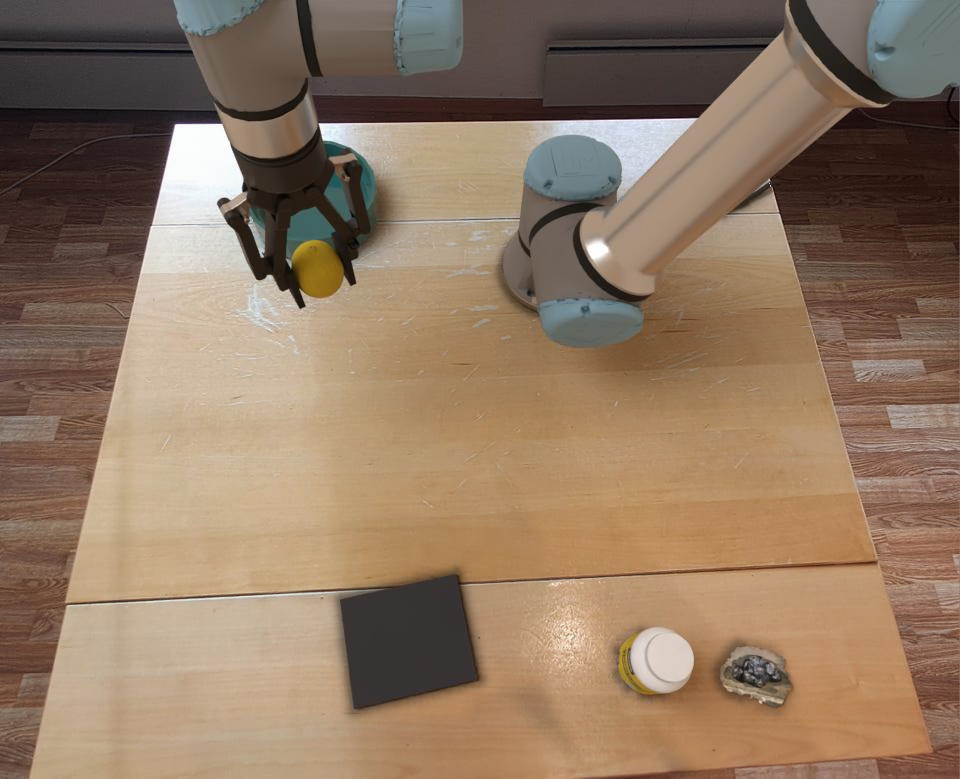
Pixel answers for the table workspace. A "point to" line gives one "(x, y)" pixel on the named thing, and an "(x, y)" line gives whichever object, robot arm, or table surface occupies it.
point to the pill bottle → (655, 661)
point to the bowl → (313, 222)
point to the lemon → (317, 269)
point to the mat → (406, 641)
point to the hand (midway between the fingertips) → (323, 287)
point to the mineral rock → (756, 675)
